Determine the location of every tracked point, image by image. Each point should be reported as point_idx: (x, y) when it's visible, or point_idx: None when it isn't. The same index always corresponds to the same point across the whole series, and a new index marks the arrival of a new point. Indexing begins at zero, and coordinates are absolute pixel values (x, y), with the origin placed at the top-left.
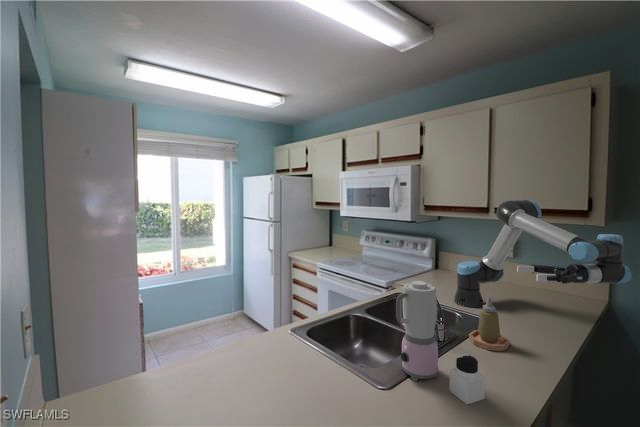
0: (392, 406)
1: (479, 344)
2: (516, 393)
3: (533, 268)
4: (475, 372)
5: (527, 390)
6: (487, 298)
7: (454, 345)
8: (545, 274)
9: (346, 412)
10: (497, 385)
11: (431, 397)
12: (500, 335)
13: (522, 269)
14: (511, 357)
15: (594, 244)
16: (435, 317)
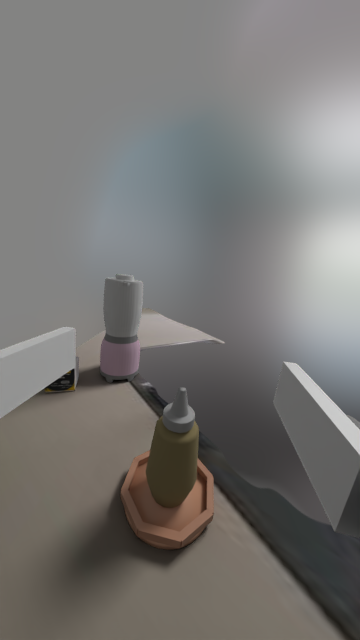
0: (88, 351)
1: None
2: (20, 424)
3: (346, 476)
4: None
5: (8, 441)
6: (183, 389)
7: None
8: (29, 341)
9: (98, 339)
10: (50, 416)
11: (80, 367)
12: (180, 532)
13: (289, 401)
14: (91, 496)
15: None
16: (105, 312)
